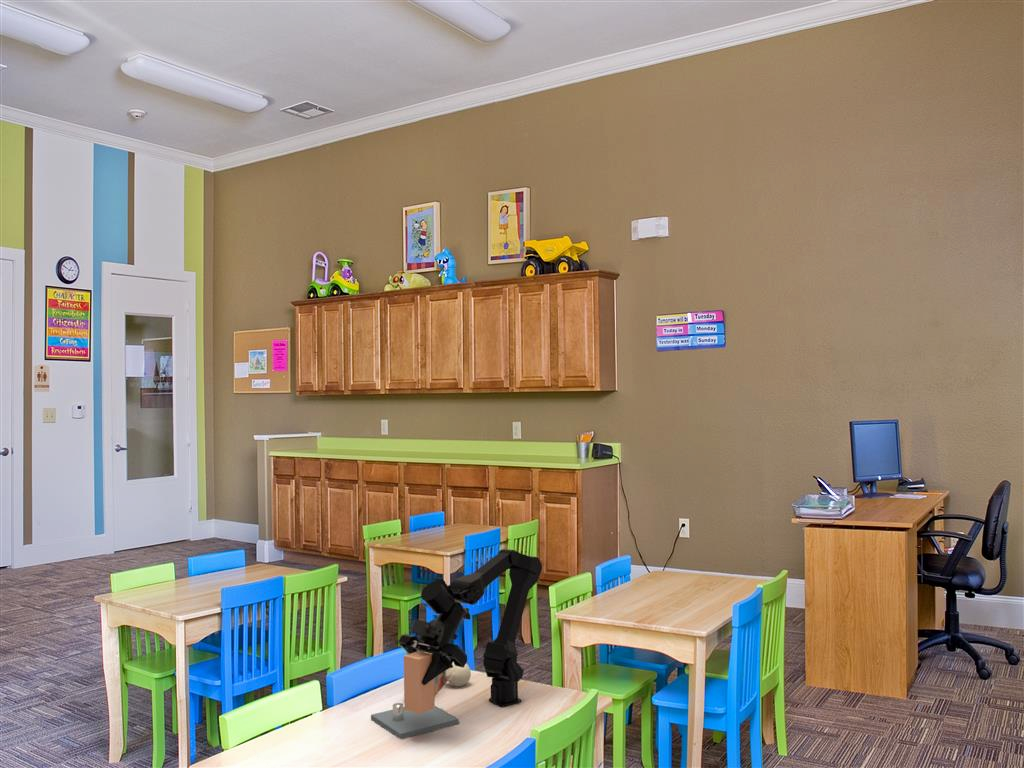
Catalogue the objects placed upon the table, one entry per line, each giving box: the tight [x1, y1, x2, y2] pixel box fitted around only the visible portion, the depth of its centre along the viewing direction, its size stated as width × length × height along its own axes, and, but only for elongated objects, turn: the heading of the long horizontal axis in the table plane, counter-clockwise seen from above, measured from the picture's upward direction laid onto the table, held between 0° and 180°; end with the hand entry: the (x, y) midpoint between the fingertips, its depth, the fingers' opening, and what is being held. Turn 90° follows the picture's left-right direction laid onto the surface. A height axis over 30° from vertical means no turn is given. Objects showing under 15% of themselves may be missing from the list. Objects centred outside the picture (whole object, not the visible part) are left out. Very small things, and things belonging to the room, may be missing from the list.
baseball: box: [445, 661, 472, 687], centre depth 234 cm, size 7×7×7 cm
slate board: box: [370, 705, 460, 740], centre depth 206 cm, size 16×16×1 cm
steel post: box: [392, 702, 404, 721], centre depth 205 cm, size 3×3×5 cm
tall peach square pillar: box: [403, 651, 436, 714], centre depth 196 cm, size 5×5×12 cm
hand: (414, 681), depth 195 cm, fingers closed on tall peach square pillar, 5 cm apart
